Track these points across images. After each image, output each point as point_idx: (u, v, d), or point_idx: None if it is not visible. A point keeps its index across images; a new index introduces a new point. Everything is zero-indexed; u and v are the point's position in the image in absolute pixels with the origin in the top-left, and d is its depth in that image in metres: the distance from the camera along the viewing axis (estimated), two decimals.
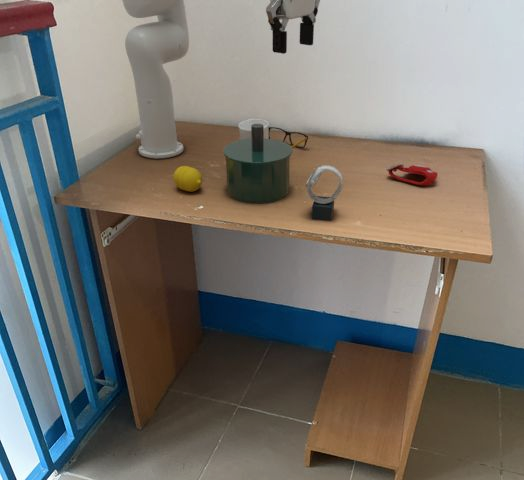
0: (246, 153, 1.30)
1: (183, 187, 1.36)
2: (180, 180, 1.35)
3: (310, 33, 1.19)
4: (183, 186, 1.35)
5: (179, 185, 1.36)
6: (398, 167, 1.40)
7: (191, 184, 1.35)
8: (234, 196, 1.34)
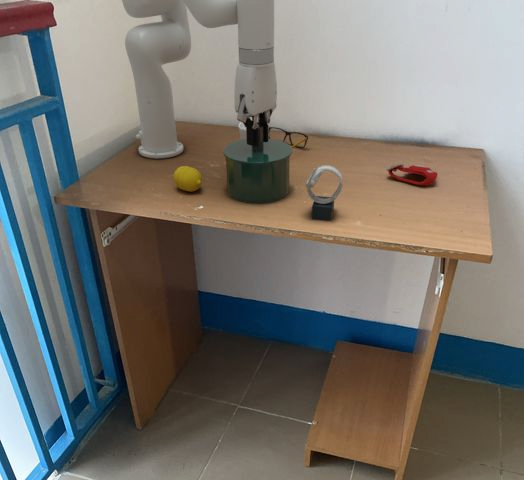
0: (246, 153, 1.30)
1: (183, 187, 1.36)
2: (180, 180, 1.35)
3: (265, 132, 1.30)
4: (183, 186, 1.35)
5: (179, 185, 1.36)
6: (398, 167, 1.40)
7: (191, 184, 1.35)
8: (234, 196, 1.34)
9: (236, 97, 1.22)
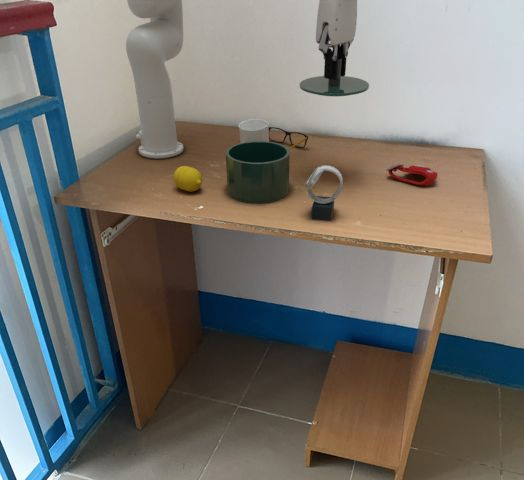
0: (323, 87, 1.29)
1: (183, 187, 1.36)
2: (180, 180, 1.35)
3: (343, 65, 1.29)
4: (183, 186, 1.35)
5: (179, 185, 1.36)
6: (398, 167, 1.40)
7: (191, 184, 1.35)
8: (234, 196, 1.34)
9: (318, 26, 1.21)
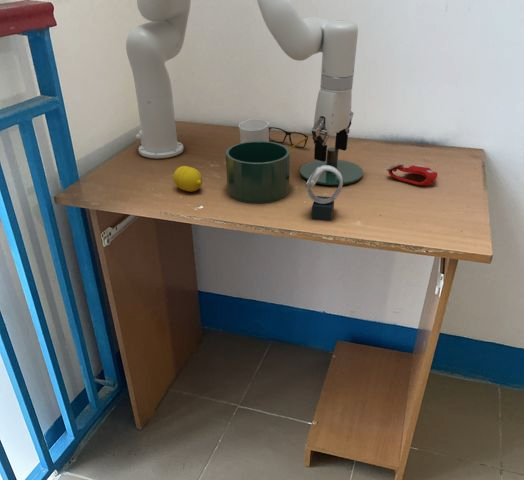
0: (322, 174, 1.43)
1: (183, 187, 1.36)
2: (180, 180, 1.35)
3: (344, 141, 1.43)
4: (183, 186, 1.35)
5: (179, 185, 1.36)
6: (398, 167, 1.40)
7: (191, 184, 1.35)
8: (234, 196, 1.34)
9: (316, 119, 1.34)
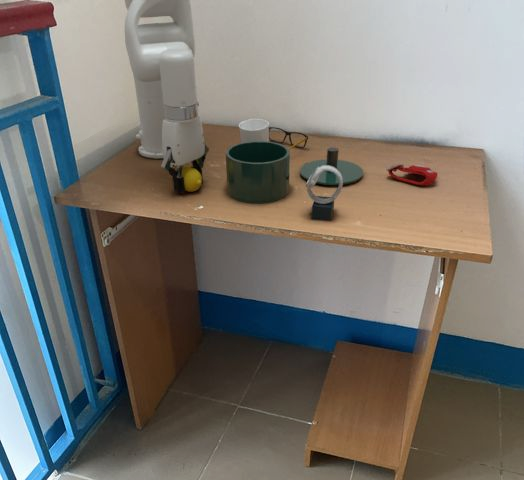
0: (322, 174, 1.43)
1: None
2: None
3: None
4: None
5: None
6: (398, 167, 1.40)
7: (191, 184, 1.35)
8: (234, 196, 1.34)
9: (164, 149, 1.30)
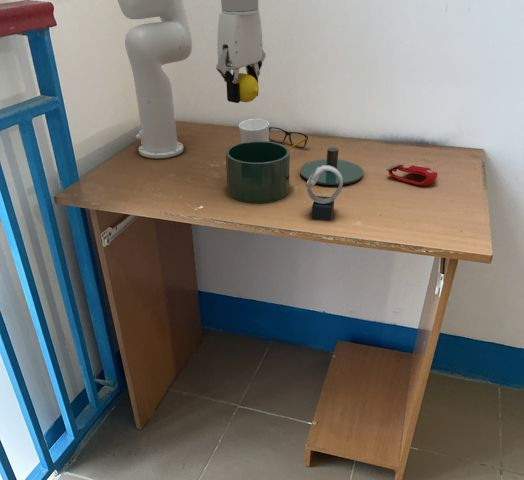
0: (322, 174, 1.43)
1: None
2: None
3: None
4: None
5: None
6: (398, 167, 1.40)
7: (247, 92, 1.21)
8: (234, 196, 1.34)
9: (219, 48, 1.16)
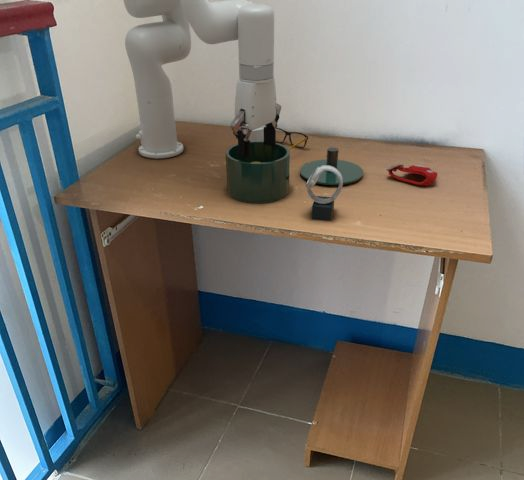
0: (322, 174, 1.43)
1: None
2: None
3: (272, 137, 1.33)
4: None
5: None
6: (398, 167, 1.40)
7: None
8: (234, 196, 1.34)
9: (236, 112, 1.24)
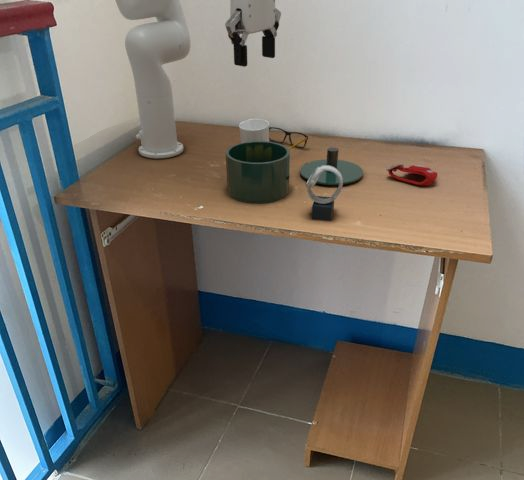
0: (322, 174, 1.43)
1: None
2: None
3: (271, 46, 1.23)
4: None
5: None
6: (398, 167, 1.40)
7: None
8: (234, 196, 1.34)
9: (232, 12, 1.14)
